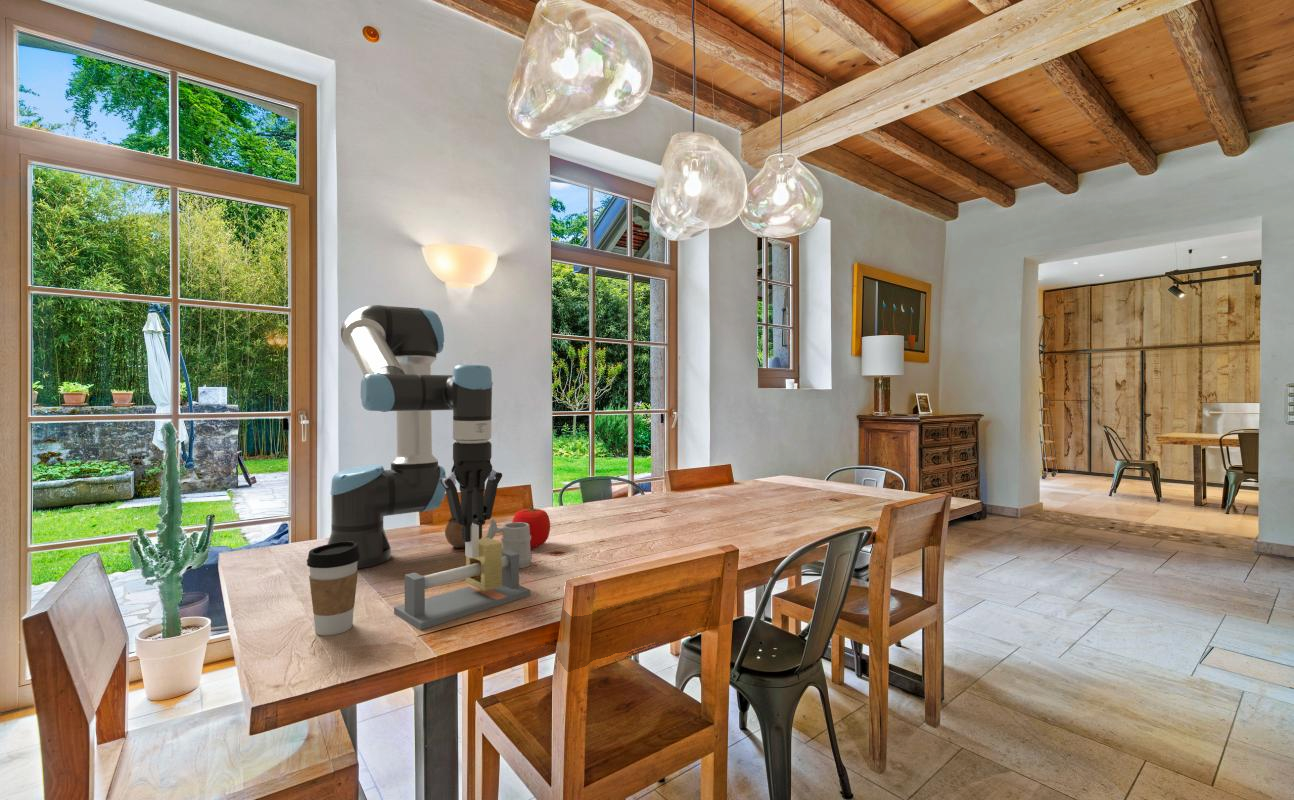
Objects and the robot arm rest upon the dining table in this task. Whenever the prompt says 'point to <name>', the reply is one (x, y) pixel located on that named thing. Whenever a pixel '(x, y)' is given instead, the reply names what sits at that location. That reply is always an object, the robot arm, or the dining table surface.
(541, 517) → the red round fruit
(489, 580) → the collar
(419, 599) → the rail
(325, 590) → the coffee cup
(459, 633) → the dining table surface
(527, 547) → the mug
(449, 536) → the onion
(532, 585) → the dining table surface
